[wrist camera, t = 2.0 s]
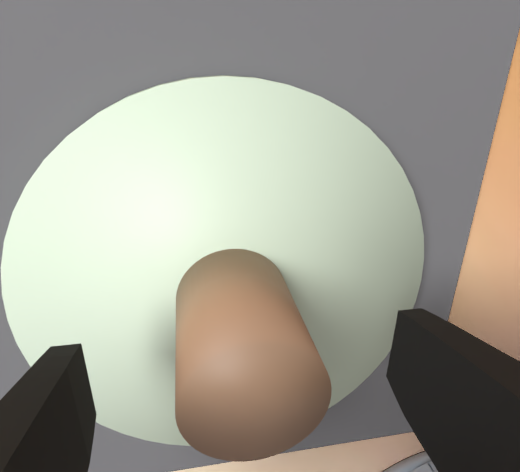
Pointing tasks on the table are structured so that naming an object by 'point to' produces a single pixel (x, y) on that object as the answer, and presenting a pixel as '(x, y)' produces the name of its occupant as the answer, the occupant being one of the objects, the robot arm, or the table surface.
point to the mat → (283, 71)
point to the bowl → (414, 464)
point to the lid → (216, 261)
